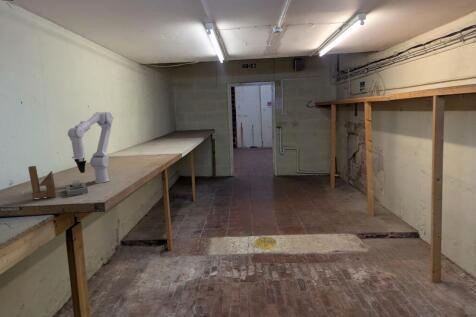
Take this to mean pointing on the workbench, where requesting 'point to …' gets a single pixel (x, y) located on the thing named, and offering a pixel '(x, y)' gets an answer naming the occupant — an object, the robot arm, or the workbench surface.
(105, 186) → the workbench surface
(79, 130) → the robot arm
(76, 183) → the block
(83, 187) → the socket plate
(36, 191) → the wooden stand
